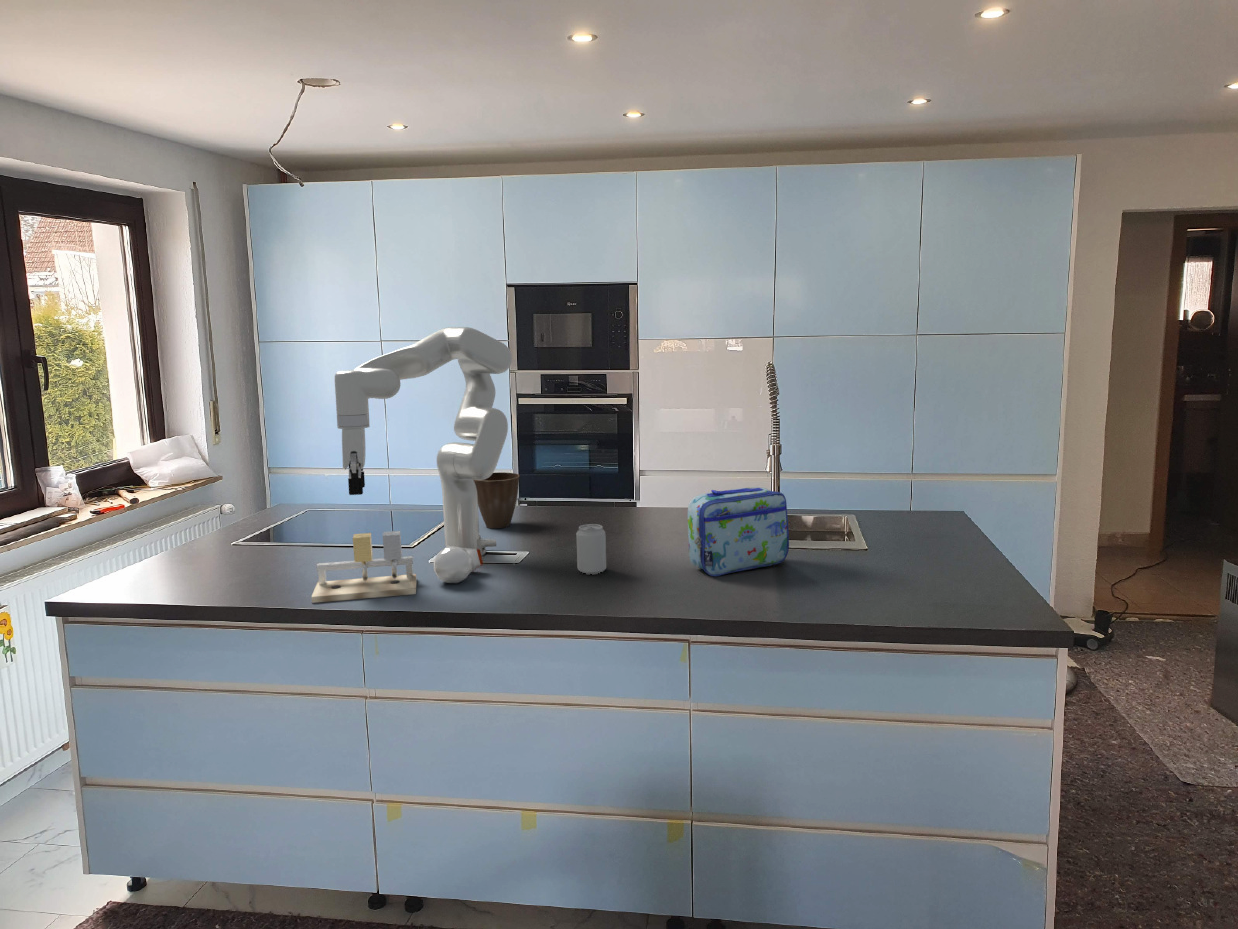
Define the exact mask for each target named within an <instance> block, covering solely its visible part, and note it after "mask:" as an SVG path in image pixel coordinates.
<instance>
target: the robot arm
mask: <svg viewBox="0 0 1238 929" xmlns="http://www.w3.org/2000/svg"><path fill="white" fill-rule="evenodd" d="M454 360H457V362H458V365H459V368H460V370H461V372H462V375H463V376H464V381H465V389H464V390H465V391H464V394H463V398H462V400H461V402H460V406H459V409H458V411H457V414H456V417H455V420H454V423H453V430H454V433H455V435H456V436H457V437H458V438H459V439H461V440H466V441H470V442H471V441H472V442H474V443H467V442H449V443H446V444H444V445H443V446H441V447H440V448H439V450H438V452H437V453H436V454H437V455H436V467H437V471H438V475H439V479H440V484H441V485H440V486H441V493H442V509H443V510H442V511H443V527H444V528H443V529H444V531H443V532H444V544H445V545H444V547H445V548H446V547H447V546H454V547H460V548H470V549H480V552H481V555H483V556H484V555H485V554H486V553H487V552H486V551H487V550H486V548H487V547H489V548H490V547H491V548H492V547H497V539H492V538H486V539H483V538H481V534H480V524H479V522H480V521H479V507H478V500H477V499H478V498H477V489H476V485H475V483H474V480H484V479H487V478H489V477H490V476H491V475H492V474H493V473H495V471H496V469H497V465H498V463H499V460H500V458H501V454H502V451H503V448H504V445H505V441H506V440H507V436H508V430H509V424H508V419H507V416H506V414H505V413H504V412H503V411H502V410H500V409H499V408H495V407H494V402H495V400H496V399H495V398H496V387H495V383H494V380H493V378H492V376H491V375H499V374H503V373H506V372H507V371H508V370H509V368H510V367H511V366H512V363H513V355H512V353H511V350H510V348H509V347H508V346H507V345H506V344H505V343H503V342H502V341H500V340H498V339H496V338H494V337H491V336H489V335H488V334H486V333H484V332H482V331H480V330H478V329H475V328H473V327H467V326H466V327H464V326H462V327H461V326H458V327H457V326H453V327H452V326H450V327H449V326H448V327H444V328H443V327H442V328H441V329H439V330H437V331H435V332H433V333H431V334H429V335H428V336H426V337H423V338H422V339H420V340H418V341H416V342H414V343H412V344H411V345H409V346H405V347H402V348H399V349H397V350H394V351H392V352H389V353H386V354H383V355H380V356H377V357H374V358H372V359H370V360H368V361H366V362H364V363H362V364H361V365H359V366H357V367H356V368H354V369H351V370H339V371H337V372H336V373H335V374H334V390H335V391H334V394H335V406H336V425H337V429H339V430H341V448H342V449H341V451H342V452H341V453H342V455H341V456H342V469H343V470H344V471H345V470H347V469H348V478H347V479H348V480H347V481H348V494H349V496H358V495H361V496H362V495H363V493H364V489H363V488H365V486H366V480H365V471H364V467H365V464H366V429H367V428H370V412H369V411H370V408H369V407H370V406H369V405H370V404H369V399H376V400H377V399H378V400H386V399H388V400H389V399H391V398H393V397H394V396H396V395H398V393H399V391H400V388H401V381H403V380H408V379H416V378H420V377H425V376H427V375H430V373H433V372H434V371H436V370H437V369H439V368H441V367H443V366H444V365H446V364H448V363H450V362H451V361H454ZM473 479H474V480H473ZM443 549H444V548H442V549H441V550H443Z"/></svg>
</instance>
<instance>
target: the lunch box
mask: <svg viewBox="0 0 1238 929" xmlns="http://www.w3.org/2000/svg"><path fill="white" fill-rule="evenodd" d="M787 503H788V502H787V498H786V496H785V494H784V493H782V492H780V491H775V490H771V489H768V488H765V487H757V486H755V487H742V488H741V487H740V488H732V489H726V490H716V489H715V490H714V489H711V492H708V493H702V494H699V495H696V496H695V497H694V498H692V499H691V500H690V501H689V504H688V507H687V535H688V536H687V537H688V554H689V560H690V563H691V564H692V565H693V566H694V567H697V568H700V569H702V570H703V572H704V573H706V574H708V575H709V576H711V577H720V576H723V575H726V574H730V573H737V572H743V571H748V570H754V569H759V568H763V567H770V566H773V565H774V566H775V565H779V564H781V563H784V561H785V560H786V558H787V556H788V554H789V550H790V532H789V518H788V507H787Z"/></svg>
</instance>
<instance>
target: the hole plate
mask: <svg viewBox="0 0 1238 929" xmlns="http://www.w3.org/2000/svg"><path fill="white" fill-rule="evenodd" d="M326 582H327V583H326V585H319V581H317V582H316V585H315V587H314V589H313V592H312V594H311V597H310V598H311V603H312V604H315V603H327V602H328V603H329V602H337V601H339V602H340V601H352V600H362V599H372V598H374V599H375V598H384V597H385V598H386V597H394V596H395V597H396V596H407V595H408V596H409V595H416V593H417V573H413V578H407V574H401V575H399V574H397V578H395V579H394V578H393V577H392V575H387V576H386V575H385V576H375V577H368V579H367V581H364V580H363V577H361V578H352V579H351V578H349V579H336V580H326Z"/></svg>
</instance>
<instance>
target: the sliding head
mask: <svg viewBox="0 0 1238 929" xmlns="http://www.w3.org/2000/svg"><path fill="white" fill-rule="evenodd" d="M372 542H373V541H372V533H371V532H367V533H365V532H363V533H353V536H352V545H353V547H352V548H353V558H354V559H353V561H355V562H361V563H362V568H361V572H362V573H361V575H362V578H363V580H364V581H367V579H368V578H369V577H368V576H369V575H368V568H367V561H372V559H374V558H373V543H372Z"/></svg>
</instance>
